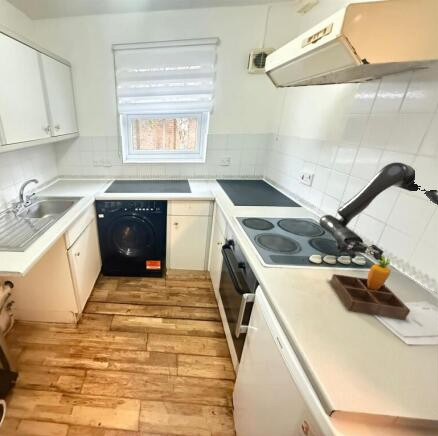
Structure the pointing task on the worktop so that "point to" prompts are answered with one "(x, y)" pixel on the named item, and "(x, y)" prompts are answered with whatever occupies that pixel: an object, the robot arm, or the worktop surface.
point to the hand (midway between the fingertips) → (367, 258)
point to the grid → (368, 297)
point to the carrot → (378, 274)
